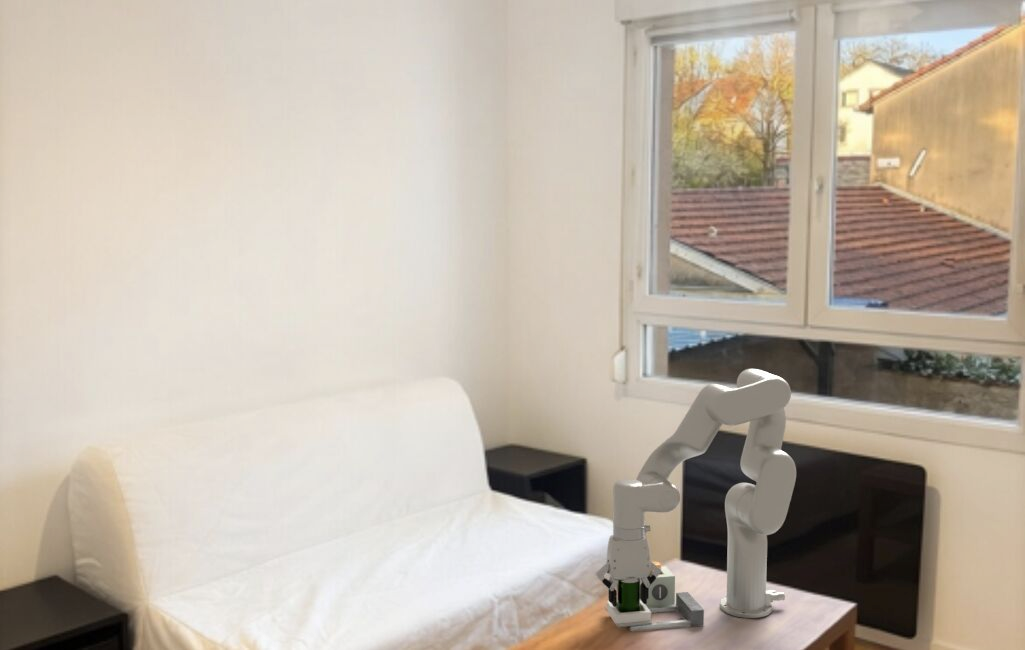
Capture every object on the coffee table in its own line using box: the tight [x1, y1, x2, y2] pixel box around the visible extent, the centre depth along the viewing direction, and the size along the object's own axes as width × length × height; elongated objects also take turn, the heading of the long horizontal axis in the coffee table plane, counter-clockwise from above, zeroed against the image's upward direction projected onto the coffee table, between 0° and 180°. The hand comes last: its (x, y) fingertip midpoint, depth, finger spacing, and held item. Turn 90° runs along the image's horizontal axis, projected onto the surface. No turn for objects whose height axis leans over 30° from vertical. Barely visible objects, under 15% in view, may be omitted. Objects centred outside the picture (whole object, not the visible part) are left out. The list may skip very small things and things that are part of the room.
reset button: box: [650, 561, 662, 575], centre depth 246 cm, size 3×3×2 cm
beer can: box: [616, 577, 640, 613], centre depth 235 cm, size 5×5×12 cm
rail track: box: [628, 591, 705, 632], centre depth 237 cm, size 18×11×4 cm, turn 100°
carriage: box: [605, 600, 653, 628], centre depth 235 cm, size 8×11×2 cm
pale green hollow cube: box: [640, 565, 676, 607], centre depth 246 cm, size 8×8×8 cm
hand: (628, 602), depth 235 cm, fingers open, 6 cm apart
